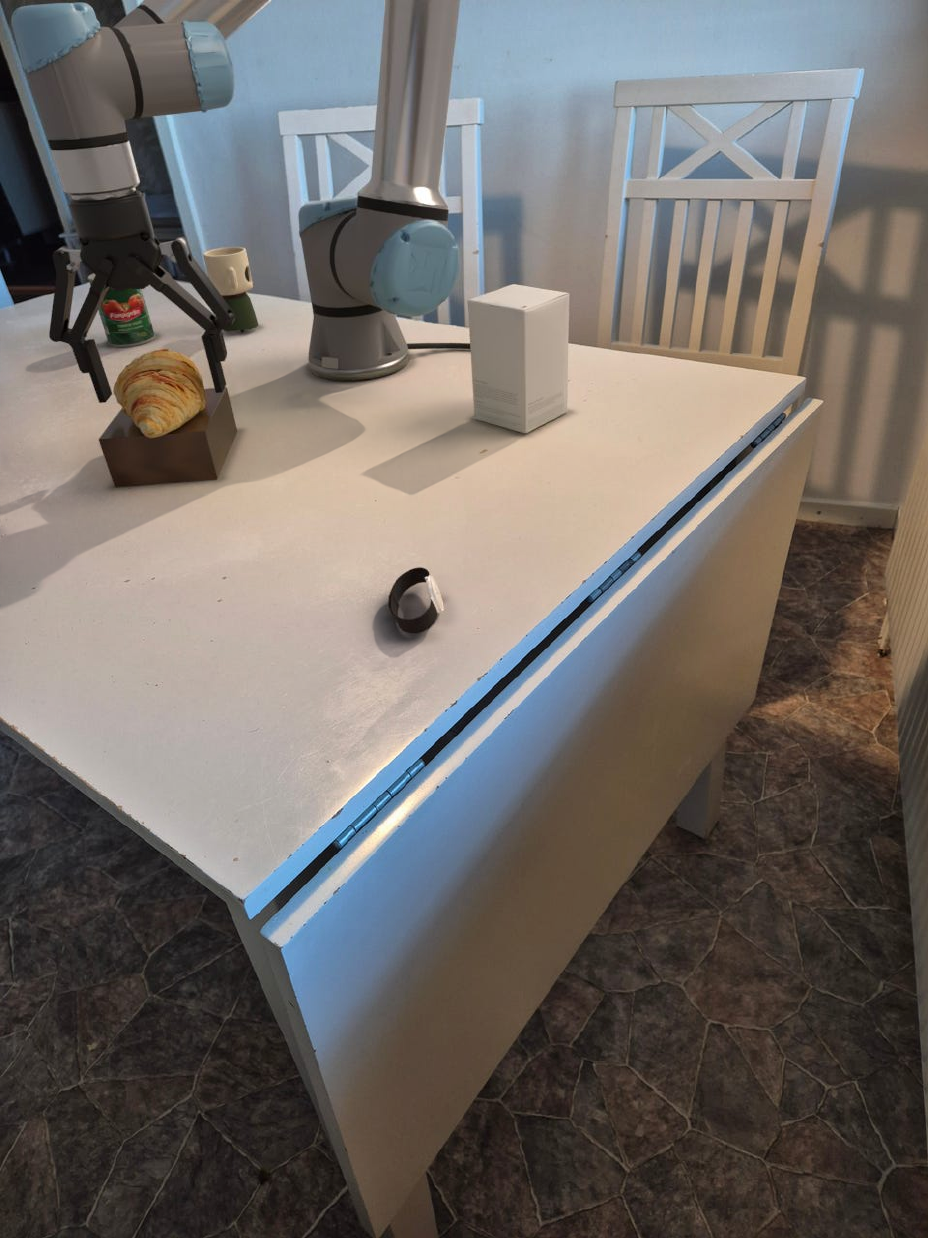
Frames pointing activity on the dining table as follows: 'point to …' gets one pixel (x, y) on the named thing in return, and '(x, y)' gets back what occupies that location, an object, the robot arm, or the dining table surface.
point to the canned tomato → (125, 317)
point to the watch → (404, 584)
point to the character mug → (233, 283)
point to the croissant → (160, 392)
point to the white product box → (519, 356)
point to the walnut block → (171, 447)
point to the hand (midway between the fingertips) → (163, 393)
